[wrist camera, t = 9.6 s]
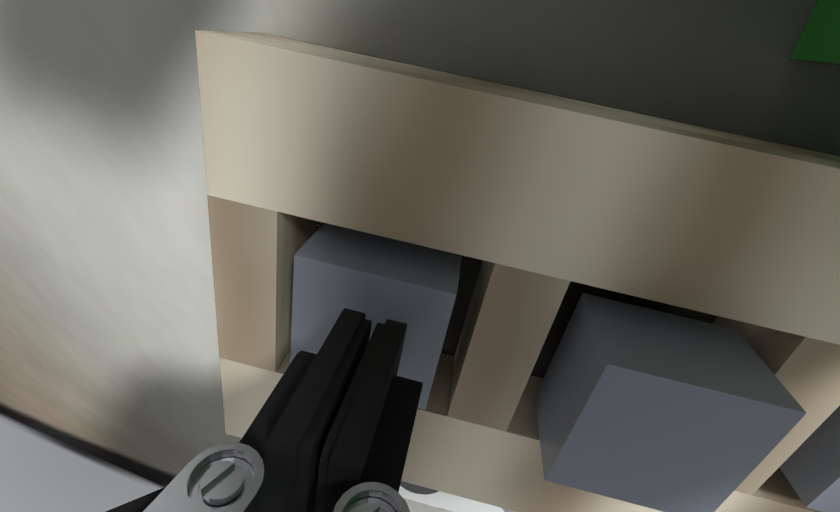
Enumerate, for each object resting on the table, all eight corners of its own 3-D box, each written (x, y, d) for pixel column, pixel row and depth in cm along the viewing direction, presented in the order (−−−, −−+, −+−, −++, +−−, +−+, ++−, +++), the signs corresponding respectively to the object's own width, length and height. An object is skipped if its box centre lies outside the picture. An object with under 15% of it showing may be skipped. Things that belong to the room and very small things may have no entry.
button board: (1223, 238, 11) (1466, 303, 8) (851, 531, 17) (915, 619, 15) (261, 32, 12) (195, 30, 9) (263, 378, 19) (225, 433, 16)
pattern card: (690, 513, 18) (693, 522, 18) (649, 558, 20) (652, 567, 20) (386, 433, 19) (384, 440, 19) (375, 484, 21) (373, 492, 21)
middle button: (736, 329, 12) (806, 413, 9) (664, 431, 14) (704, 522, 11) (582, 292, 12) (607, 364, 9) (534, 397, 14) (544, 480, 11)
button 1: (463, 244, 13) (456, 294, 11) (436, 346, 15) (425, 410, 13) (332, 213, 13) (293, 255, 11) (323, 318, 16) (289, 375, 13)
